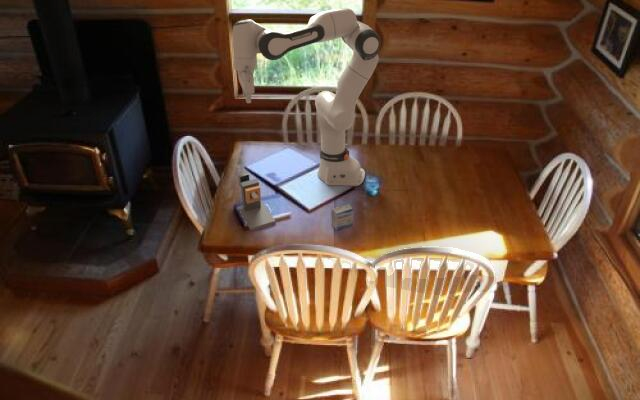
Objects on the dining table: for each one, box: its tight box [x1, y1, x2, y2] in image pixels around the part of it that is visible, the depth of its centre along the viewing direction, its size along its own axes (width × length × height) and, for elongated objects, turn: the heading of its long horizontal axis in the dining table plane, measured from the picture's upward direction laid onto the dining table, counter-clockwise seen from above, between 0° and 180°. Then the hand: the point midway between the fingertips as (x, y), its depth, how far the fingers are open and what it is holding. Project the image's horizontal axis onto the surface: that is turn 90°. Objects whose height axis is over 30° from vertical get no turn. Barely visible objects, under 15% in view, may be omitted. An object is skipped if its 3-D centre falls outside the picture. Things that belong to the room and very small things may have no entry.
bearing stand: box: [237, 178, 277, 232], centre depth 217 cm, size 16×11×14 cm
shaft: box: [237, 170, 259, 200], centre depth 220 cm, size 16×4×6 cm, turn 26°
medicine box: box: [330, 203, 354, 231], centre depth 215 cm, size 8×4×9 cm, turn 117°
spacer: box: [245, 184, 262, 204], centre depth 217 cm, size 2×6×6 cm, turn 116°
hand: (247, 99), depth 207 cm, fingers open, 8 cm apart
